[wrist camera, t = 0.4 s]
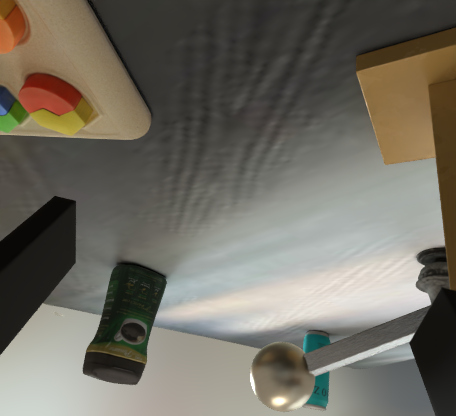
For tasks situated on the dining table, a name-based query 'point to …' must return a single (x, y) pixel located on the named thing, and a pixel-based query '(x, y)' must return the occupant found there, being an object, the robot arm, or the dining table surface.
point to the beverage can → (321, 387)
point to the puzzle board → (64, 75)
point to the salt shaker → (433, 272)
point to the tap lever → (321, 361)
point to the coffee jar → (125, 325)
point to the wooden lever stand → (417, 113)
